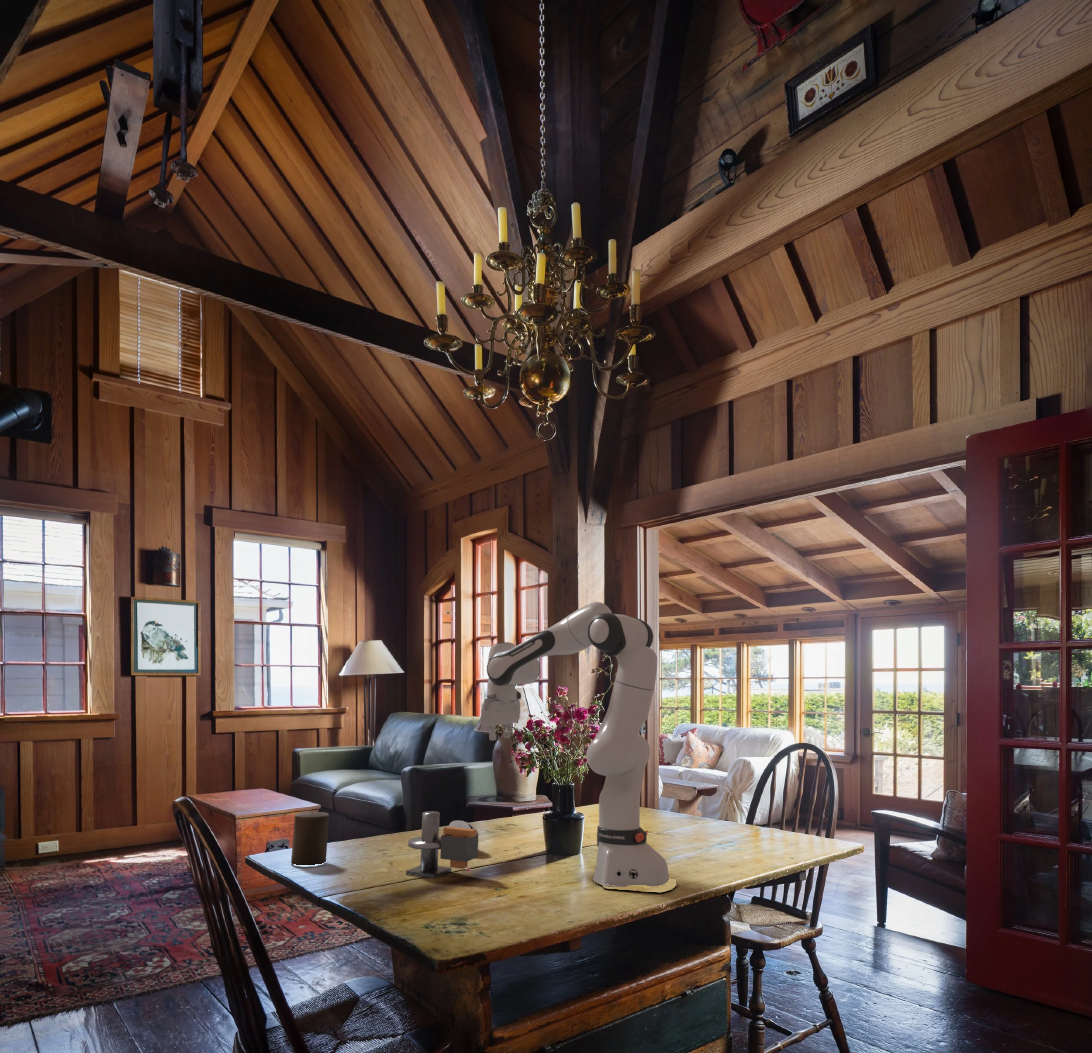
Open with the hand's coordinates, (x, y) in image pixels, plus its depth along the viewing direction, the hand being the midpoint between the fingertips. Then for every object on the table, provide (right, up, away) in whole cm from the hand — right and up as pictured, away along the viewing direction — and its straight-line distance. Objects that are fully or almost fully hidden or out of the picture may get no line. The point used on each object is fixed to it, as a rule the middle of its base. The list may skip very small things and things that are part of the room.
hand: (499, 739), depth 262 cm
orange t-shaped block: (-9, -26, -35) cm, 44 cm away
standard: (-14, -29, -33) cm, 46 cm away
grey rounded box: (-13, -34, -3) cm, 37 cm away
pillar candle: (-54, -30, -23) cm, 66 cm away
